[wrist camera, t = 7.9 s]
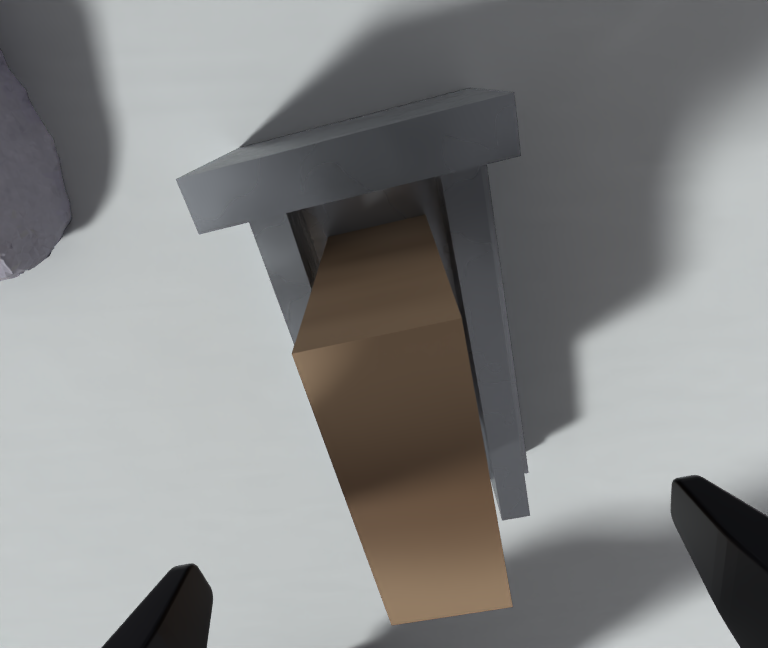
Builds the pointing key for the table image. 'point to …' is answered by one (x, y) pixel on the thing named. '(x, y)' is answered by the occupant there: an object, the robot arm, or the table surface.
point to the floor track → (385, 205)
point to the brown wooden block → (403, 421)
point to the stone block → (27, 182)
